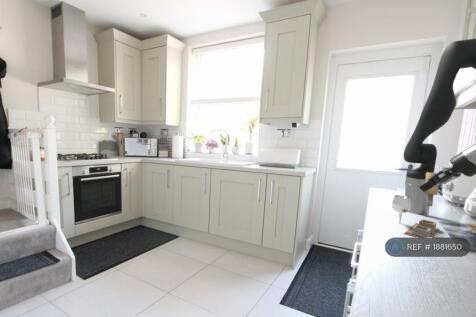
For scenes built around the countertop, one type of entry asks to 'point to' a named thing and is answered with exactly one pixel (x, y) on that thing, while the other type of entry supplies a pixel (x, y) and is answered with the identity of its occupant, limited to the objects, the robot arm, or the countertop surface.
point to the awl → (431, 189)
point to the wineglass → (401, 205)
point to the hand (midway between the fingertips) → (424, 188)
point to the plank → (423, 229)
